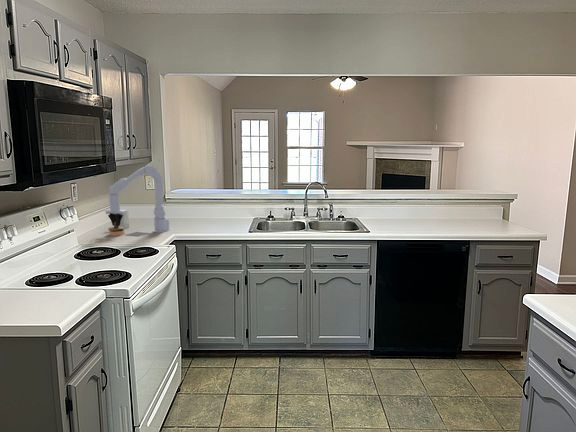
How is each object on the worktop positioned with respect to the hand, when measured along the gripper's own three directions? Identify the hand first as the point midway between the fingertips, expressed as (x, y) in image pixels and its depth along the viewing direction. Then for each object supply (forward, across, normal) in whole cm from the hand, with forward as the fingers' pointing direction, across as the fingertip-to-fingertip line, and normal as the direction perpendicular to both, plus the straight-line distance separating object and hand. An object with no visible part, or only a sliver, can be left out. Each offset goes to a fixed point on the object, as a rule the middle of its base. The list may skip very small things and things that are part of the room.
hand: (116, 225), depth 284 cm
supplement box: (+6, -13, +18) cm, 23 cm away
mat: (+6, +12, +5) cm, 14 cm away
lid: (+2, 0, 0) cm, 2 cm away
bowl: (+6, 0, 0) cm, 6 cm away
